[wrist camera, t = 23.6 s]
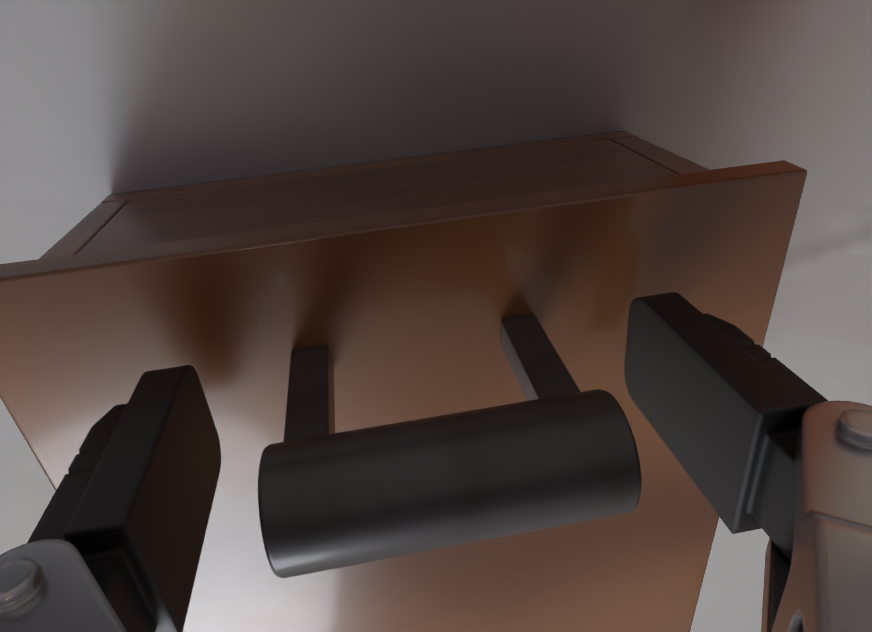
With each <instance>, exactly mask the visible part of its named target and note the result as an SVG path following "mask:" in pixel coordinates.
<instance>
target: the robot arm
mask: <svg viewBox="0 0 872 632" xmlns="http://www.w3.org/2000/svg"><path fill="white" fill-rule="evenodd" d="M624 376H625V382H626V386H627V390H628V392H629V395H630V397H631V399H632V400H633V402H634V403H635V404H636V406H637V407H638V408H639V410H640V411H641V412H642V414H643V415H644V416H645V418H646V419H647V420H648V422H649V423H650V424H651V426H652V427H653V428H654V430H655V431H656V432H657V434H658V435H659V436H660V438H661V439H662V440H663V442H664V443H665V444H666V446H667V447H668V448H669V450H670V451H671V452H672V454H673V455H674V456H675V458H676V459H677V460H678V462H679V463H680V464H681V466H682V467H683V468H684V470H685V471H686V472H687V474H688V475H689V476H690V478H691V479H692V480H693V482H694V483H695V484H696V486H697V487H698V489H699V490H700V491H701V493H702V494H703V495H704V497H705V498H706V499H707V501H708V502H709V503H710V505H711V506H712V507H713V509H714V510H715V511H716V513H717V514H718V515H719V517H720V518H721V519H722V521H723V522H724V523H725V525H726V526H727V527H728V529H729V530H730V531H731V533H732V534H735V533H740V532H745V531H750V530H755V529H760V528H762V529H763V530H764V531H765V532H766V534H767V535H768V536H769V537H770V538H769V542H768V546H767V550H766V557H765V574H764V591H763V609H762V626H761V632H872V406H870V405H866V404H861V403H856V402H849V401H828V400H827V399H825V398H824V397H823V396H822V395H820V394H819V393H818V392H817V391H815V390H814V389H813V388H812V387H811V386H809V385H808V384H807V383H806V382H804V381H803V380H802V379H801V378H799V377H798V376H797V375H796V374H794V373H793V372H792V371H791V370H790V369H788V368H787V367H786V366H785V365H783V364H782V363H781V362H780V361H778V360H777V359H776V358H771V354H770V353H769V352H767V351H766V350H765V349H764V348H762V347H761V346H760V345H759V344H756V345H755V343H754V340H753V339H751V338H750V337H749V336H748V335H746V334H745V333H744V332H743V331H741V330H740V329H739V328H738V327H736V326H735V325H733V324H731V323H729V322H726V321H724V320H722V319H720V318H717V317H715V316H713V315H710V314H708V313H706V314H703V313H701V312H700V311H699V310H698V309H697V308H695V307H694V306H693V305H692V304H691V303H690V302H688V301H687V300H686V299H685V298H684V297H683V296H681V295H680V294H679V293H676V292H670V293H664V294H657V295H650V296H644V297H637V298H635V299H633V300H632V302H631V304H630V308H629V316H628V328H627V339H626V351H625V363H624ZM220 469H221V446H220V440H219V436H218V432H217V429H216V426H215V423H214V420H213V417H212V415H211V412H210V409H209V406H208V403H207V400H206V397H205V394H204V391H203V388H202V385H201V382H200V379H199V376H198V374H197V372H196V370H195V368H194V367H193V366H191V365H185V366H178V367H172V368H165V369H159V370H152V371H146V372H144V373H143V374H142V376H141V377H140V379H139V381H138V383H137V386H136V388H135V390H134V392H133V394H132V396H131V398H130V400H129V402H128V403H126V404H120V405H115V406H114V407H113V408H112V409H111V410H110V411H108V412H107V413H106V414H105V415H104V416H103V417H102V418H101V419H100V420H99V421H97V422H96V423H95V424H94V425H93V426H92V427H91V429H90V431H89V432H88V434H87V436H86V438H85V440H84V441H83V443H82V445H81V447H80V449H79V454H77V455H76V456H75V458H74V459H73V461H72V463H71V465H70V467H69V468H68V471H69V473H68V474H65V476H64V477H63V479H62V481H61V483H60V485H59V486H58V488H57V490H56V492H55V494H54V495H53V497H52V499H51V501H50V503H49V504H48V506H47V508H46V510H45V512H44V513H43V515H42V517H41V519H40V521H39V522H38V524H37V526H36V528H35V530H34V531H33V533H32V535H31V537H30V539H29V541H28V542H27V544H23V545H21V546H18V547H16V548H14V549H11V550H9V551H7V552H5V553H3V554H1V555H0V632H183V629H184V624H185V620H186V616H187V612H188V607H189V603H190V599H191V594H192V590H193V586H194V581H195V577H196V573H197V568H198V564H199V560H200V556H201V551H202V547H203V543H204V538H205V534H206V530H207V525H208V521H209V517H210V512H211V508H212V504H213V499H214V495H215V491H216V487H217V482H218V478H219V474H220Z"/></svg>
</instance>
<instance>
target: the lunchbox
mask: <svg viewBox="0 0 872 632" xmlns="http://www.w3.org/2000/svg"><path fill="white" fill-rule="evenodd" d="M708 170H709V169H707V168H704V167H702V166H700V165H698V164H696V163H693V162H691V161H689V160H687V159H685V158H682V157H680V156H678V155H676V154H674V153H671V152H669V151H667V150H665V149H663V148H660V147H658V146H656V145H654V144H652V143H649V142H647V141H645V140H643V139H641V138H638V137H636V136H633V135H631V134H629V133H627V132H624V131H618V132H610V133H602V134H594V135H586V136H578V137H570V138H562V139H554V140H546V141H538V142H529V143H521V144H513V145H505V146H497V147H489V148H481V149H473V150H465V151H457V152H449V153H441V154H433V155H425V156H417V157H409V158H401V159H393V160H385V161H376V162H368V163H360V164H352V165H344V166H336V167H328V168H320V169H312V170H304V171H296V172H288V173H280V174H272V175H264V176H256V177H248V178H240V179H231V180H223V181H215V182H207V183H199V184H191V185H183V186H175V187H167V188H159V189H151V190H143V191H135V192H127V193H119V194H111V195H109V196H108V197H107V198H106V199H105V200H103V201H102V202H101V204H99V205H98V206H97V207H96V208H95V209H94V210H93V211H91V212H90V213H89V214H88V215H87V216H86V217H85V218H84V219H83V220H81V221H80V222H79V223H78V224H77V225H76V226H75V227H74V228H73V229H71V230H70V231H69V232H68V233H67V234H66V235H65V236H64V237H63V238H61V239H60V240H59V241H58V242H57V243H56V244H55V245H54V246H53V247H51V248H50V249H49V250H48V251H47V252H46V253H45V254H44V255H43V256H41V257H40V258H39V259H45V258H53V257H60V256H68V255H75V254H83V253H90V252H98V251H106V250H113V249H121V248H128V247H136V246H143V245H151V244H158V243H166V242H173V241H181V240H188V239H196V238H203V237H211V236H218V235H226V234H233V233H241V232H249V231H256V230H264V229H271V228H279V227H286V226H294V225H301V224H309V223H316V222H324V221H331V220H339V219H346V218H354V217H361V216H369V215H376V214H384V213H392V212H399V211H407V210H414V209H422V208H429V207H437V206H444V205H452V204H459V203H467V202H474V201H482V200H489V199H497V198H504V197H512V196H519V195H527V194H535V193H542V192H550V191H557V190H565V189H572V188H580V187H587V186H595V185H602V184H610V183H617V182H625V181H632V180H640V179H647V178H655V177H662V176H670V175H678V174H685V173H693V172H700V171H708Z"/></svg>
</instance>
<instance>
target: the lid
mask: <svg viewBox="0 0 872 632" xmlns="http://www.w3.org/2000/svg"><path fill="white" fill-rule="evenodd" d="M806 175H807V171H806V170H805V169H803V168H801V167H798V166H796V165H794V164H791V163H789V162H787V161H784V160H783V161H775V162H768V163H760V164H753V165H745V166H738V167H730V168H723V169H715V170H708V171H700V172H693V173H685V174H678V175H670V176H662V177H655V178H647V179H640V180H632V181H625V182H617V183H610V184H602V185H595V186H587V187H580V188H572V189H565V190H557V191H550V192H542V193H535V194H527V195H519V196H512V197H504V198H497V199H489V200H482V201H474V202H467V203H459V204H452V205H444V206H437V207H429V208H422V209H414V210H407V211H399V212H392V213H384V214H376V215H369V216H361V217H354V218H346V219H339V220H331V221H324V222H316V223H309V224H301V225H294V226H286V227H279V228H271V229H264V230H256V231H249V232H241V233H233V234H226V235H218V236H211V237H203V238H196V239H188V240H181V241H173V242H166V243H158V244H151V245H143V246H136V247H128V248H121V249H113V250H106V251H98V252H90V253H83V254H75V255H68V256H60V257H53V258H45V259H38V260H30V261H23V262H15V263H8V264H0V397H1V399H2V401H3V403H4V404H5V406H6V408H7V409H8V411H9V413H10V414H11V416H12V418H13V419H14V421H15V423H16V424H17V426H18V428H19V430H20V431H21V433H22V435H23V436H24V438H25V440H26V441H27V443H28V445H29V446H30V448H31V450H32V451H33V453H34V455H35V457H36V458H37V460H38V462H39V463H40V465H41V467H42V468H43V470H44V472H45V473H46V475H47V477H48V479H49V480H50V482H51V484H52V485H53V487H54V489H55V490H57V488H58V486H59V485H60V483H61V481H62V479H63V477H64V476H65V474H68V473H69V471H68V468H69V467H70V465H71V463H72V461H73V459H74V458H75V456H76V455H77V454H79V449H80V447H81V445H82V443H83V441H84V440H85V438H86V436H87V434H88V432H89V431H90V429H91V427H92V426H93V425H94V424H95V423H96V422H97V421H99V420H100V419H101V418H102V417H103V416H104V415H105V414H106V413H107V412H108V411H110V410H111V409H112V408H113V407H114V406H115V405H120V404H126V403H128V402H129V400H130V398H131V396H132V394H133V392H134V390H135V388H136V386H137V383H138V381H139V379H140V377H141V376H142V374H143V373H144V372H146V371H152V370H159V369H165V368H172V367H178V366H185V365H191V366H193V367H194V368H195V370H196V372H197V374H198V376H199V379H200V382H201V385H202V388H203V391H204V394H205V397H206V400H207V403H208V406H209V409H210V412H211V415H212V417H213V420H214V423H215V426H216V429H217V432H218V436H219V440H220V446H221V469H220V474H219V478H218V482H217V487H216V491H215V495H214V499H213V504H212V508H211V512H210V517H209V521H208V525H207V530H206V534H205V538H204V543H203V547H202V551H201V556H200V560H199V564H198V568H197V573H196V577H195V581H194V586H193V590H192V594H191V599H190V603H189V607H188V612H187V616H186V620H185V624H184V629H183V632H690V629H691V625H692V621H693V617H694V613H695V609H696V605H697V601H698V597H699V593H700V589H701V585H702V582H703V578H704V574H705V570H706V566H707V562H708V558H709V554H710V550H711V546H712V542H713V539H714V535H715V531H716V527H717V523H718V519H719V515H718V514H717V513H716V511H715V510H714V509H713V507H712V506H711V505H710V503H709V502H708V501H707V499H706V498H705V497H704V495H703V494H702V493H701V491H700V490H699V489H698V487H697V486H696V484H695V483H694V482H693V480H692V479H691V478H690V476H689V475H688V474H687V472H686V471H685V470H684V468H683V467H682V466H681V464H680V463H679V462H678V460H677V459H676V458H675V456H674V455H673V454H672V452H671V451H670V450H669V448H668V447H667V446H666V444H665V443H664V442H663V440H662V439H661V438H660V436H659V435H658V434H657V432H656V431H655V430H654V428H653V427H652V426H651V424H650V423H649V422H648V420H647V419H646V418H645V416H644V415H643V414H642V412H641V411H640V410H639V408H638V407H637V406H636V404H635V403H634V402H633V400H632V399H631V397H630V395H629V392H628V390H627V386H626V382H625V376H624V363H625V351H626V339H627V328H628V316H629V308H630V304H631V302H632V300H633V299H635V298H637V297H644V296H650V295H657V294H664V293H670V292H676V293H679V294H680V295H681V296H683V297H684V298H685V299H686V300H687V301H688V302H690V303H691V304H692V305H693V306H694V307H695V308H697V309H698V310H699V311H700V312H701V313H703V314H706V313H708V314H710V315H713V316H715V317H717V318H720V319H722V320H724V321H726V322H729V323H731V324H733V325H735V326H736V327H738V328H739V329H740V330H741V331H743V332H744V333H745V334H746V335H748V336H749V337H750V338H751V339H753V340H754V343H755V345H756V344H759V345H760V346H761V347H763V343H764V339H765V335H766V331H767V327H768V324H769V320H770V316H771V312H772V308H773V304H774V300H775V296H776V292H777V288H778V284H779V280H780V277H781V273H782V269H783V265H784V261H785V257H786V253H787V249H788V245H789V241H790V237H791V234H792V230H793V226H794V222H795V218H796V214H797V210H798V206H799V202H800V198H801V194H802V191H803V187H804V183H805V179H806Z"/></svg>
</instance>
